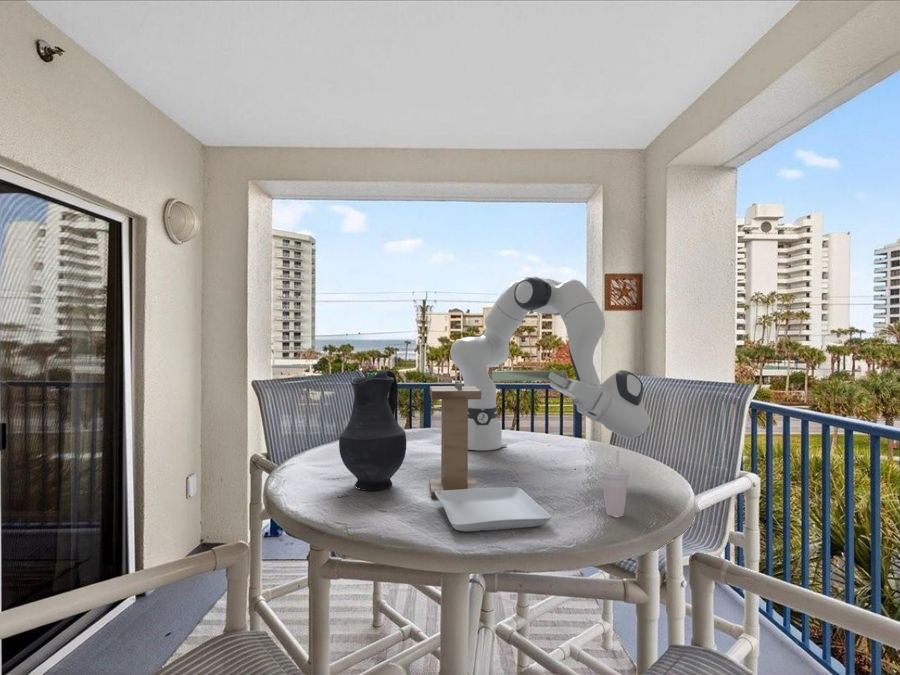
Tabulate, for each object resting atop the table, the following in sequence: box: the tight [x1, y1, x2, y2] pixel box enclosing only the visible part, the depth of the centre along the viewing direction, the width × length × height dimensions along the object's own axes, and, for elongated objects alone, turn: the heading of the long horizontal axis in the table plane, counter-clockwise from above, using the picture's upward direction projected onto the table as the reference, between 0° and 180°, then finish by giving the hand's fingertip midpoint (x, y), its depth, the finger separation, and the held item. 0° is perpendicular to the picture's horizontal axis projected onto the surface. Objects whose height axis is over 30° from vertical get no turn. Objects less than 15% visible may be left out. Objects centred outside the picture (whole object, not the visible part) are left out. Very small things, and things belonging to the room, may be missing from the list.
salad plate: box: [435, 486, 552, 532], centre depth 113 cm, size 21×21×3 cm
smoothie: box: [599, 450, 631, 516], centre depth 114 cm, size 6×6×14 cm
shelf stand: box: [428, 380, 481, 499], centre depth 131 cm, size 12×12×28 cm
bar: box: [491, 370, 567, 382], centre depth 133 cm, size 2×19×2 cm, turn 95°
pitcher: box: [338, 369, 407, 491], centre depth 136 cm, size 17×21×30 cm
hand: (546, 373), depth 133 cm, fingers closed on bar, 2 cm apart
